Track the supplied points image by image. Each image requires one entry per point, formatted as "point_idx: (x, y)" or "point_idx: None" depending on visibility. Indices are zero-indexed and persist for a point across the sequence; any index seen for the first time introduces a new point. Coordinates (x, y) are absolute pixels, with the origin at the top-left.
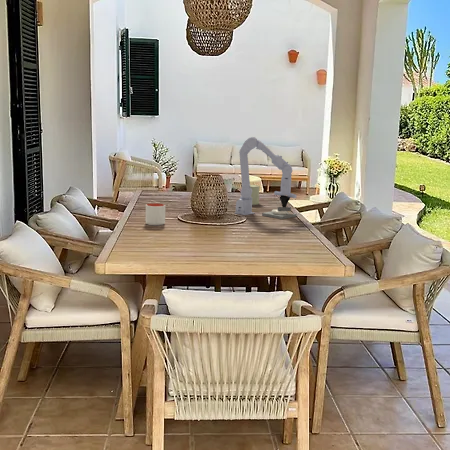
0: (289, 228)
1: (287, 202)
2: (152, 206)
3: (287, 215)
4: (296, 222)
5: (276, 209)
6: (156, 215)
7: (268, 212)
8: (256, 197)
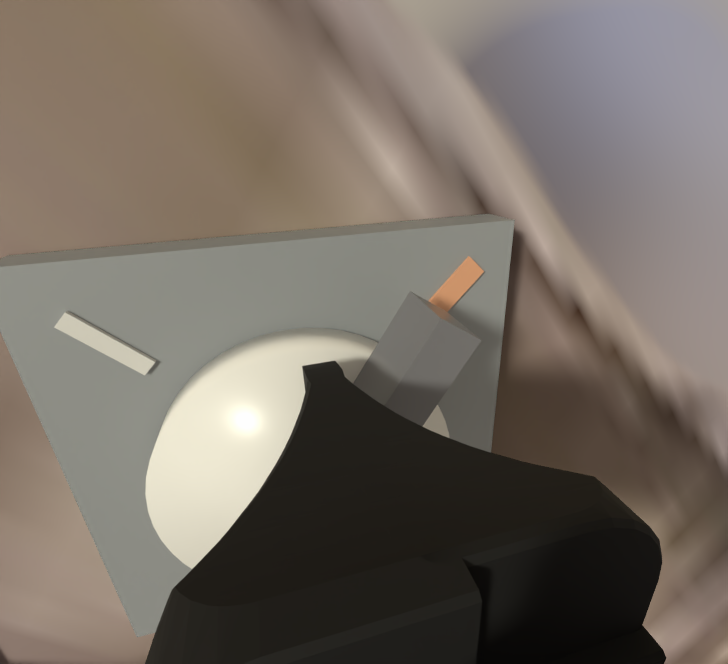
0: (683, 637)
1: (415, 432)
2: None
3: (488, 447)
4: (651, 485)
5: (164, 460)
6: None
7: (140, 550)
8: None
